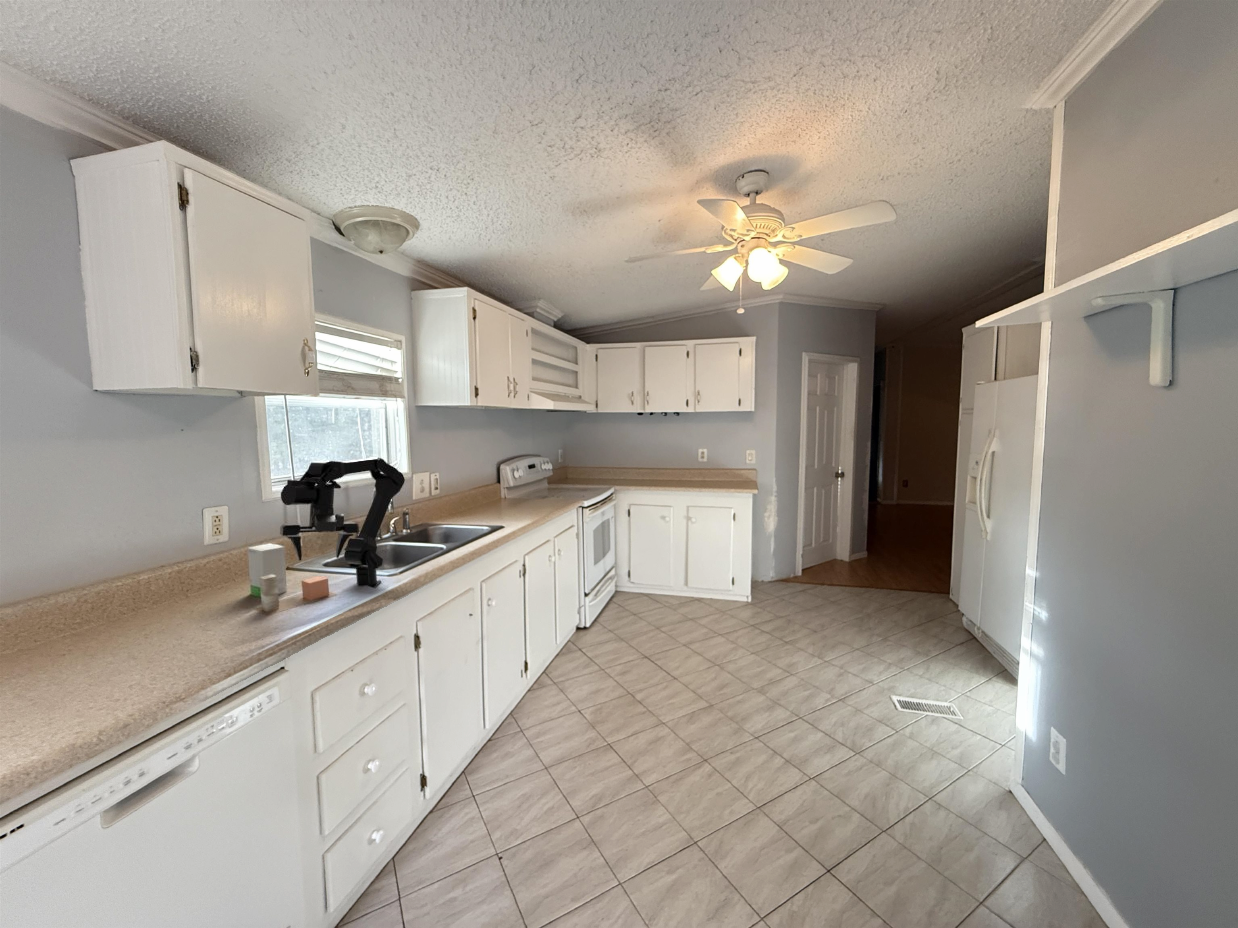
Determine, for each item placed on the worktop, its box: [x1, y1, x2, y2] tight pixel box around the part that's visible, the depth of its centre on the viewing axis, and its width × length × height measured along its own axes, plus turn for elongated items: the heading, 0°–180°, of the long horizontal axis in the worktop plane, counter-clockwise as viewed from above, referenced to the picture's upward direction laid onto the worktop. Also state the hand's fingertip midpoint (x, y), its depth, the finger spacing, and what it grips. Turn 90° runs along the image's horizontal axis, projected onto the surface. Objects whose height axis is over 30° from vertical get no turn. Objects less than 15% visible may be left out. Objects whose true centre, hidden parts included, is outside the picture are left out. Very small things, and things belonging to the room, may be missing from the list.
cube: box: [301, 575, 330, 600], centre depth 143 cm, size 5×5×5 cm
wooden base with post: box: [253, 575, 338, 616], centre depth 138 cm, size 18×9×10 cm, turn 145°
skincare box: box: [247, 542, 287, 598], centre depth 146 cm, size 8×7×16 cm
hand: (319, 559), depth 139 cm, fingers open, 9 cm apart
